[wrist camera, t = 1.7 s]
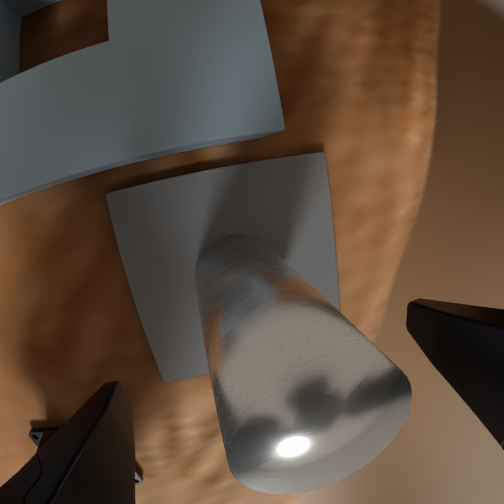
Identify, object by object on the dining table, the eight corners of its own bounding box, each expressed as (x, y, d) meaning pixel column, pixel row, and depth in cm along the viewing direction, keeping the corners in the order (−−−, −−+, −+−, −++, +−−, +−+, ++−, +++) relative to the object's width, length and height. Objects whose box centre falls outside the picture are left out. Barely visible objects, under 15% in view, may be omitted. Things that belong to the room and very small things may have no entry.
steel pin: (284, 304, 16) (398, 454, 6) (205, 323, 15) (248, 509, 6) (273, 225, 14) (423, 330, 5) (185, 244, 14) (203, 403, 4)
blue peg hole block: (257, 138, 14) (285, 129, 10) (-38, 221, 11) (-84, 238, 7) (215, -80, 10) (226, -123, 6) (-41, 4, 7) (-72, -16, 3)
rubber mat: (337, 333, 17) (340, 336, 17) (164, 378, 16) (164, 382, 15) (321, 152, 14) (324, 151, 14) (107, 193, 13) (105, 193, 12)
